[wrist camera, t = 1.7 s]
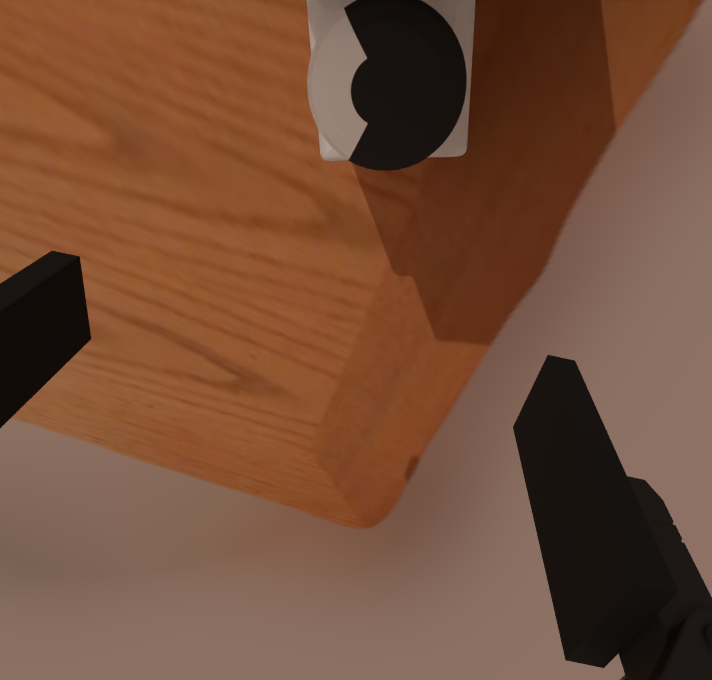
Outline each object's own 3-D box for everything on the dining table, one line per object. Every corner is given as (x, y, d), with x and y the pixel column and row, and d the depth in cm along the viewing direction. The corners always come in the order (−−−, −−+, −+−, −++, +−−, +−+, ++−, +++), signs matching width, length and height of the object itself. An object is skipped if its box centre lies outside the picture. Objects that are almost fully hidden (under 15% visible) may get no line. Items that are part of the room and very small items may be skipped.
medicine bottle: (464, -17, 26) (492, -38, 16) (457, 129, 30) (476, 187, 20) (329, -7, 27) (275, -21, 17) (339, 134, 31) (300, 191, 21)
